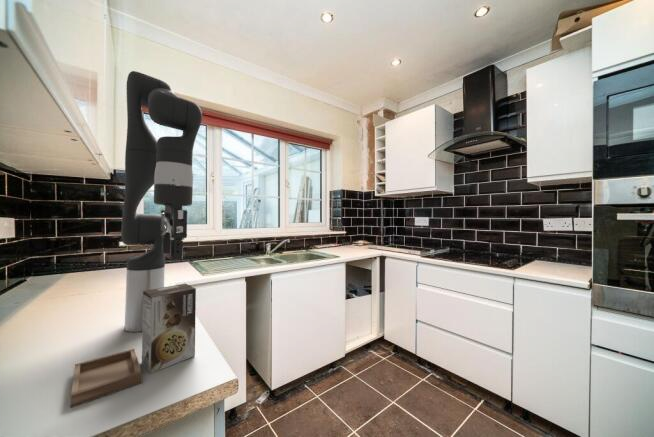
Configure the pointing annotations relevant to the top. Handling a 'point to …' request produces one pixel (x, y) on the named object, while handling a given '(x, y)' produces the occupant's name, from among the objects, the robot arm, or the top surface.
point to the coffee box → (168, 326)
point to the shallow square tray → (105, 376)
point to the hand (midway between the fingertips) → (171, 255)
